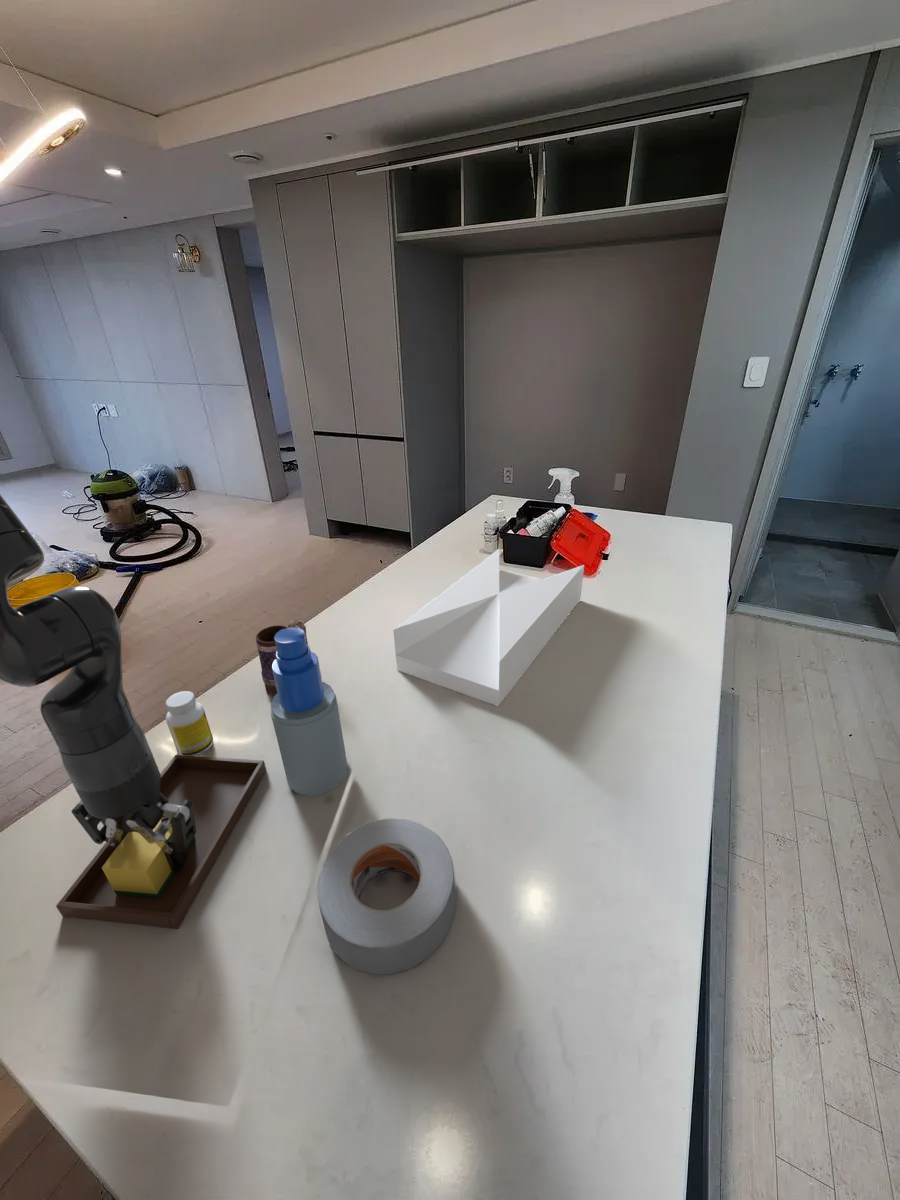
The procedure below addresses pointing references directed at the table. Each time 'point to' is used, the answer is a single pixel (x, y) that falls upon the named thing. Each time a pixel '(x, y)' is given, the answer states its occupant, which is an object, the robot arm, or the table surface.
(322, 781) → the spray bottle
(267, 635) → the mug
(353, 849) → the tape roll
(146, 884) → the sponge
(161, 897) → the tray
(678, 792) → the table surface
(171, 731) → the supplement bottle
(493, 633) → the building model
